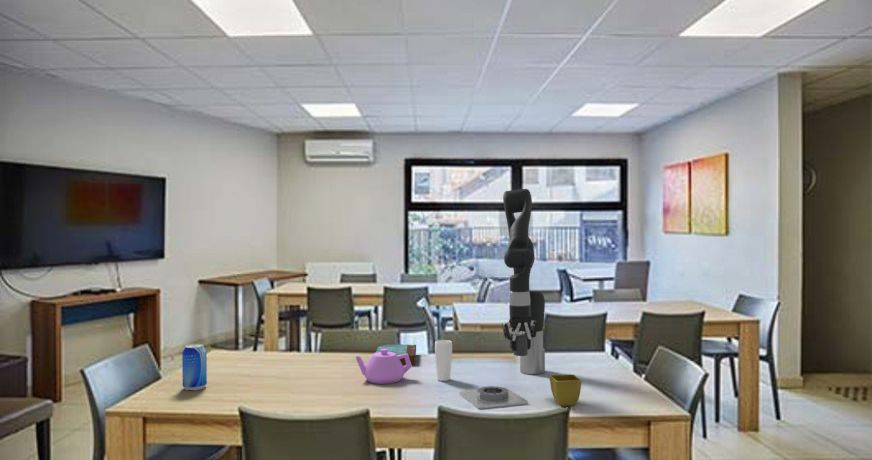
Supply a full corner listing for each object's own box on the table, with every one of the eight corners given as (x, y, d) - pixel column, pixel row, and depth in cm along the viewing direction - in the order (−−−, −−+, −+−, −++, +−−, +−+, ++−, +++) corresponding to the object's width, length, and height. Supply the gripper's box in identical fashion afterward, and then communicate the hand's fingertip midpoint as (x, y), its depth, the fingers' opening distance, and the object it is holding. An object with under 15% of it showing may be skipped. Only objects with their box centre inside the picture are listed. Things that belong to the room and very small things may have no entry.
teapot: (410, 373, 247) (410, 344, 247) (413, 384, 231) (413, 352, 231) (356, 375, 244) (356, 346, 244) (355, 386, 229) (355, 354, 229)
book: (415, 366, 261) (415, 355, 261) (374, 366, 261) (374, 355, 261) (416, 354, 284) (416, 344, 284) (378, 355, 284) (378, 344, 284)
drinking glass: (450, 382, 233) (450, 343, 233) (433, 381, 234) (433, 342, 234) (453, 378, 240) (453, 340, 239) (436, 377, 241) (436, 339, 241)
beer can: (211, 386, 230) (211, 344, 229) (196, 392, 222) (195, 348, 222) (193, 384, 232) (193, 342, 232) (177, 390, 224) (177, 347, 224)
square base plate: (505, 389, 222) (505, 381, 222) (527, 403, 205) (527, 395, 205) (459, 394, 217) (459, 386, 217) (478, 409, 200) (478, 400, 200)
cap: (523, 352, 224) (523, 333, 223) (530, 355, 219) (529, 335, 219) (511, 353, 222) (511, 334, 222) (517, 356, 217) (517, 337, 217)
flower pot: (549, 400, 209) (549, 374, 209) (573, 399, 210) (573, 373, 210) (556, 408, 200) (556, 381, 200) (582, 407, 201) (582, 380, 201)
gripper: (532, 300, 226) (533, 346, 226) (497, 303, 221) (498, 349, 222) (542, 303, 219) (543, 350, 219) (506, 306, 214) (507, 354, 215)
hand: (520, 349), depth 220 cm, fingers closed on cap, 5 cm apart
